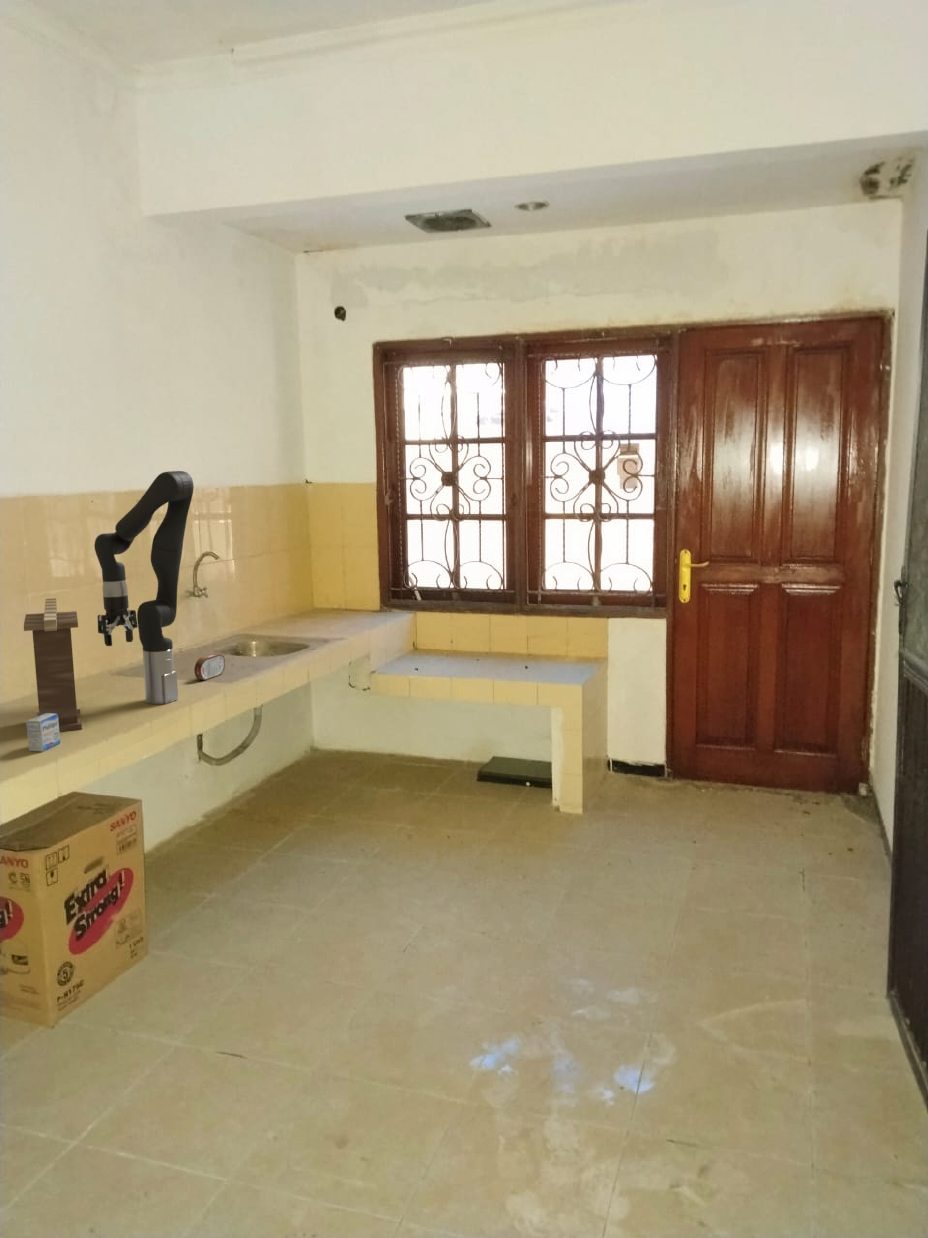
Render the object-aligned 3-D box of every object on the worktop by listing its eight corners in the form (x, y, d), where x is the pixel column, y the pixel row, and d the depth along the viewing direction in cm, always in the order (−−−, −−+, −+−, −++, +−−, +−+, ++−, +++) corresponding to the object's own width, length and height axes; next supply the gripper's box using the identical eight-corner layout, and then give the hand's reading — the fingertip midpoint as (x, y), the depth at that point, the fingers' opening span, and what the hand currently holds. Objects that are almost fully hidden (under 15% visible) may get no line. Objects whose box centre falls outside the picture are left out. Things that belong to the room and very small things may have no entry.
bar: (46, 608, 282) (45, 598, 281) (56, 607, 283) (56, 598, 283) (44, 631, 246) (43, 620, 245) (56, 630, 247) (55, 619, 247)
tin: (220, 672, 335) (219, 650, 333) (227, 673, 334) (226, 651, 332) (194, 682, 321) (192, 658, 320) (201, 683, 320) (200, 659, 319)
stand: (34, 717, 277) (25, 614, 272) (83, 712, 283) (76, 611, 277) (32, 735, 259) (23, 625, 254) (85, 729, 265) (77, 622, 259)
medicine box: (43, 752, 245) (40, 721, 244) (28, 751, 246) (25, 720, 244) (60, 743, 253) (58, 713, 251) (46, 742, 253) (43, 712, 252)
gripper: (106, 597, 287) (110, 648, 289) (140, 592, 299) (144, 641, 301) (89, 596, 290) (93, 646, 292) (124, 592, 303) (127, 640, 305)
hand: (119, 643), depth 297 cm, fingers open, 8 cm apart
